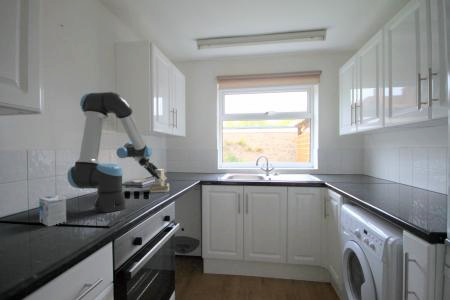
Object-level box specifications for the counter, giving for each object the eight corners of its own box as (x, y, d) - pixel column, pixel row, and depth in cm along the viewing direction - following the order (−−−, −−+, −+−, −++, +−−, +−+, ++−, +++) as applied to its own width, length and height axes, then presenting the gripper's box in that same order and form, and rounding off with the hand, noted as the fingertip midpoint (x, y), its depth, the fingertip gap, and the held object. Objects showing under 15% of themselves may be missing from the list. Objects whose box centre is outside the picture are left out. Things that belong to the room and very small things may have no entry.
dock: (168, 191, 165) (167, 185, 165) (149, 192, 163) (149, 186, 163) (169, 188, 177) (169, 183, 177) (152, 189, 175) (152, 183, 175)
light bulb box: (39, 222, 101) (38, 197, 101) (57, 218, 107) (56, 194, 106) (48, 226, 95) (48, 200, 95) (67, 222, 101) (66, 197, 100)
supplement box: (158, 186, 174) (158, 168, 174) (164, 186, 174) (164, 168, 174) (154, 188, 166) (154, 169, 166) (161, 188, 166) (161, 169, 166)
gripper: (143, 161, 180) (164, 182, 181) (132, 163, 159) (156, 186, 160) (150, 154, 180) (171, 175, 181) (140, 156, 159) (164, 179, 160)
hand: (164, 180), depth 170 cm, fingers closed on supplement box, 8 cm apart
